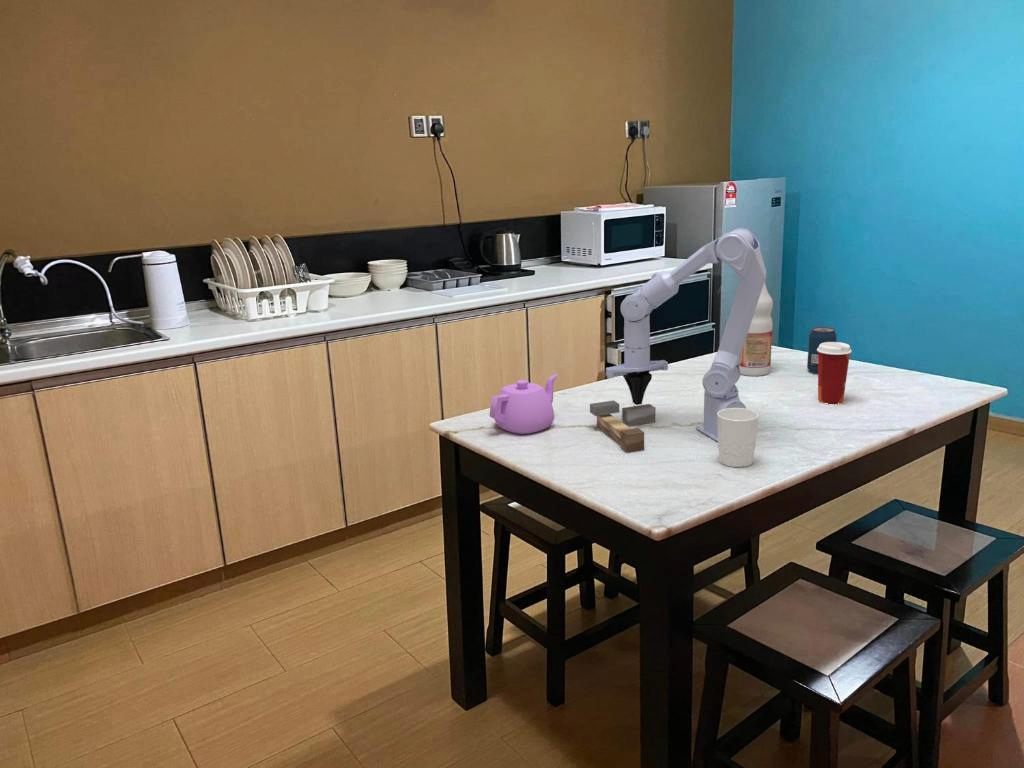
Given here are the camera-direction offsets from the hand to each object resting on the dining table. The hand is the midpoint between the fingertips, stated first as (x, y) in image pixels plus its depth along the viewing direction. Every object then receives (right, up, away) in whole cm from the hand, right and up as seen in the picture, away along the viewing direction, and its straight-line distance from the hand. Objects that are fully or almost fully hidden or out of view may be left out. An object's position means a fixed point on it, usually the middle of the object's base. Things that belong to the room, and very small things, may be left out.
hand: (637, 403), depth 181 cm
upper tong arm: (-6, -6, -7) cm, 11 cm away
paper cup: (+48, 0, +10) cm, 49 cm away
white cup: (+16, -11, -23) cm, 31 cm away
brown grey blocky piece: (-1, -7, -6) cm, 9 cm away
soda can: (+55, +8, +34) cm, 65 cm away
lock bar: (-8, -2, -2) cm, 8 cm away
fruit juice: (+38, +8, +37) cm, 53 cm away
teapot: (-25, -5, +3) cm, 26 cm away
